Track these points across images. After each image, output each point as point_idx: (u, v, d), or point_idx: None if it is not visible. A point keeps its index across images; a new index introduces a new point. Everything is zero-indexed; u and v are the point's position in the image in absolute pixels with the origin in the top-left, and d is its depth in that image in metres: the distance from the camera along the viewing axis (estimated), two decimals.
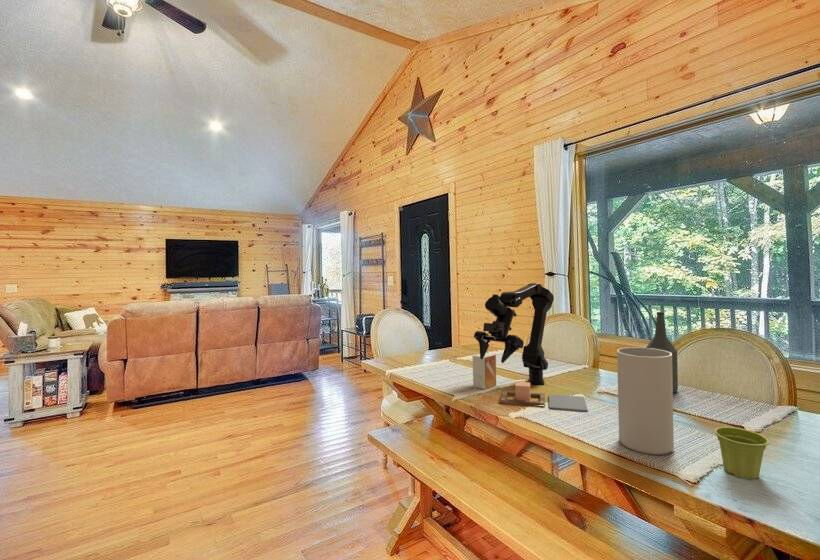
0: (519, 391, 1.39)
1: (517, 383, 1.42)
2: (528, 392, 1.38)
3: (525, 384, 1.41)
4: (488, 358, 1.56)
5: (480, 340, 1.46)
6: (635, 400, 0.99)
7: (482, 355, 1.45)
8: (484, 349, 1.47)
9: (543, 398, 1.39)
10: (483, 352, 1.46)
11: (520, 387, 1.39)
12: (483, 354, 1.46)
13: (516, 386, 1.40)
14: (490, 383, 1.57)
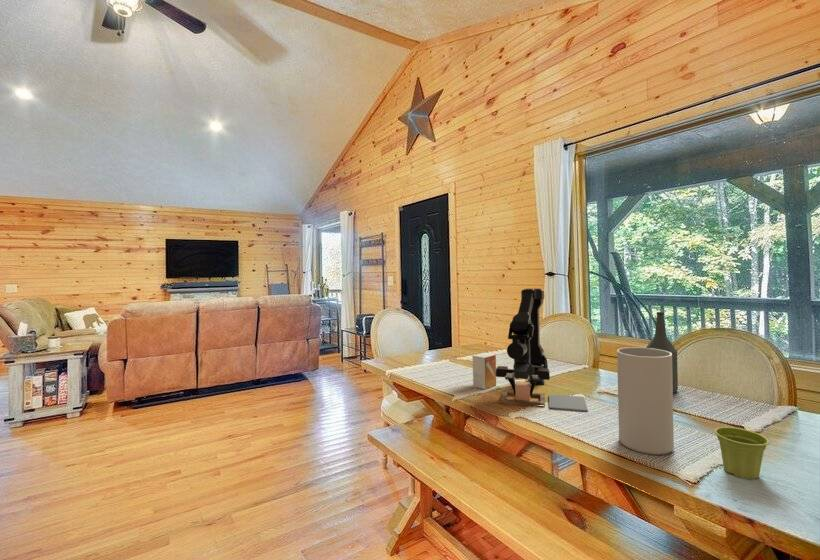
0: (519, 390, 1.39)
1: (517, 383, 1.42)
2: (528, 392, 1.38)
3: (525, 384, 1.41)
4: (488, 358, 1.56)
5: (511, 380, 1.40)
6: (635, 400, 0.99)
7: None
8: (514, 384, 1.43)
9: (543, 398, 1.39)
10: None
11: (520, 387, 1.39)
12: None
13: (516, 386, 1.40)
14: (490, 383, 1.57)
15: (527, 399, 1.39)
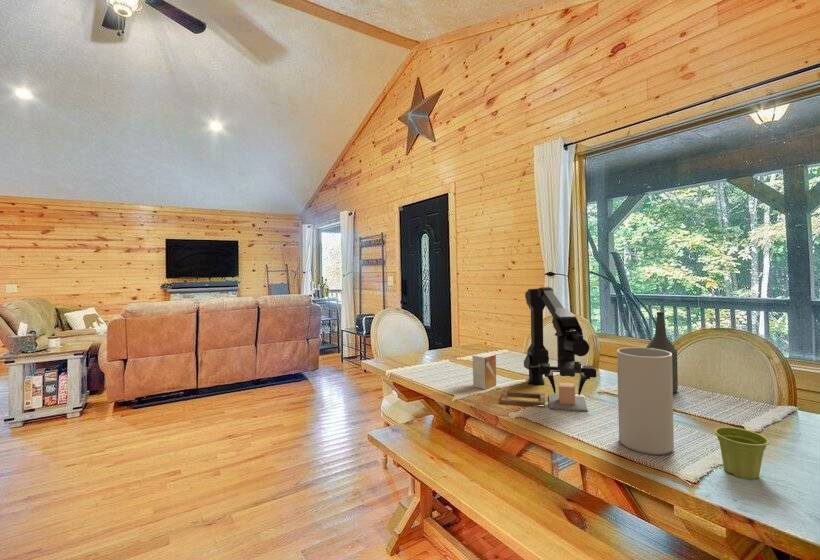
0: (563, 392, 1.34)
1: (560, 384, 1.37)
2: (573, 393, 1.33)
3: (569, 385, 1.36)
4: (488, 358, 1.56)
5: (551, 377, 1.36)
6: (635, 400, 0.99)
7: None
8: None
9: (543, 398, 1.39)
10: None
11: (564, 388, 1.34)
12: None
13: (560, 387, 1.35)
14: (490, 383, 1.57)
15: (572, 401, 1.34)
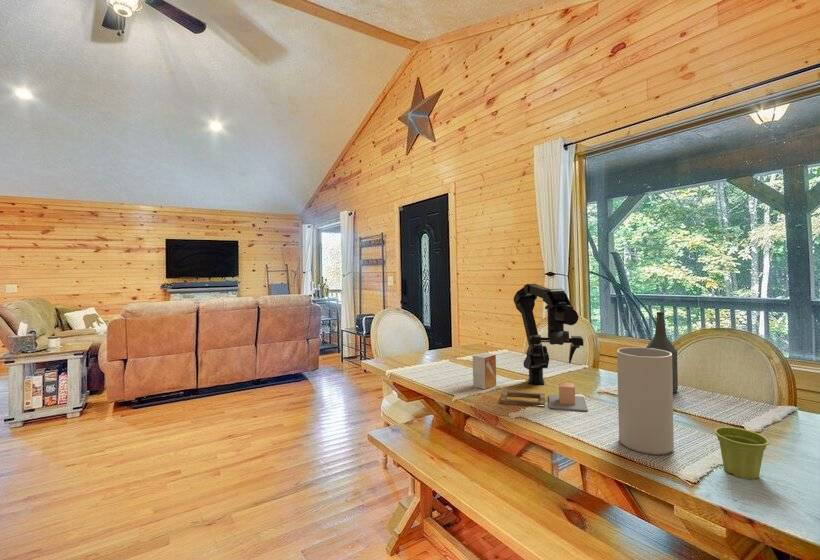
0: (563, 392, 1.34)
1: (560, 384, 1.37)
2: (573, 393, 1.33)
3: (569, 385, 1.36)
4: (488, 358, 1.56)
5: (540, 347, 1.46)
6: (635, 400, 0.99)
7: (544, 358, 1.48)
8: None
9: (543, 398, 1.39)
10: (543, 355, 1.48)
11: (564, 388, 1.34)
12: (544, 357, 1.48)
13: (560, 387, 1.35)
14: (490, 383, 1.57)
15: (572, 401, 1.34)
